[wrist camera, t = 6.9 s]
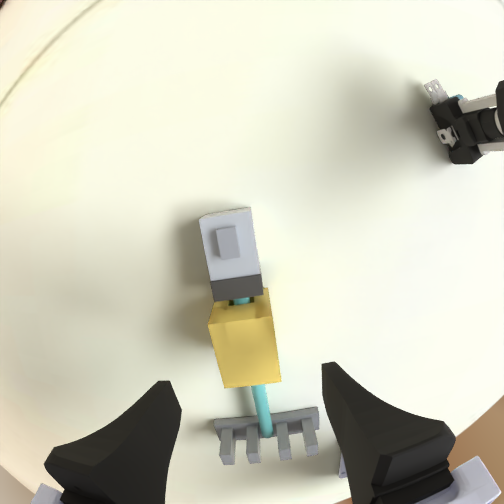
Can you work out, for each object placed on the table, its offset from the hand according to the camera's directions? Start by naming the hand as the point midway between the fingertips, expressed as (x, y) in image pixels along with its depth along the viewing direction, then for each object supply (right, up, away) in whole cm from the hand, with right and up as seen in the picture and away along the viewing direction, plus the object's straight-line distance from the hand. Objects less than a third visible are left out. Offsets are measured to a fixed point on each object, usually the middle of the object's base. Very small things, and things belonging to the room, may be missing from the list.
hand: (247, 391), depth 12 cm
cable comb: (+2, -9, +10) cm, 13 cm away
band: (-1, +5, +6) cm, 8 cm away
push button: (+15, +16, +4) cm, 22 cm away
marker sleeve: (0, +2, +7) cm, 7 cm away
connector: (-1, +7, +6) cm, 9 cm away
